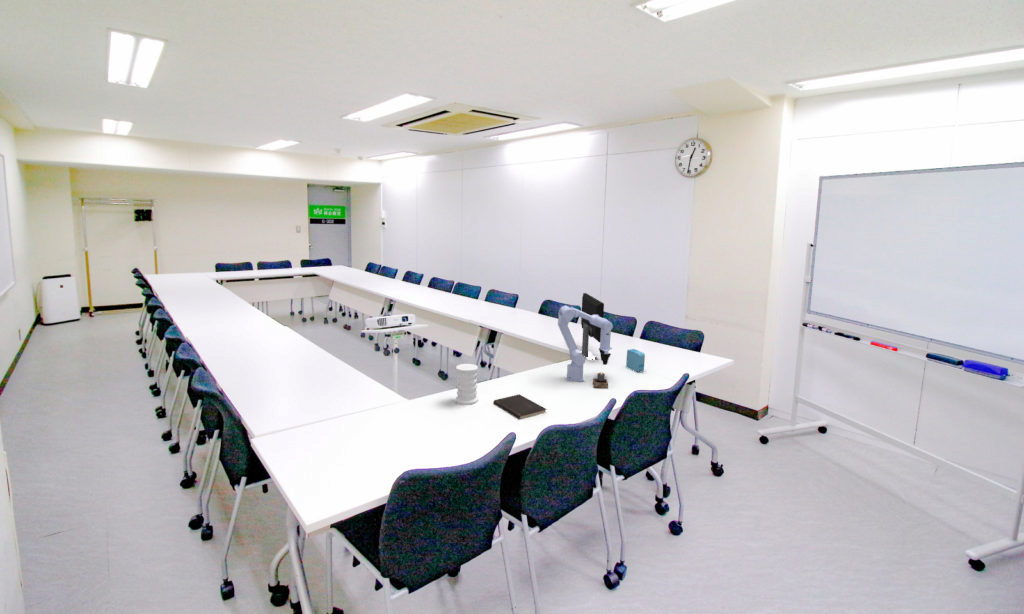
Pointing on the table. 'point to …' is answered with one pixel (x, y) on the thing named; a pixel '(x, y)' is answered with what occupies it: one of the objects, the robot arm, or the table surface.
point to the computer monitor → (591, 308)
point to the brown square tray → (600, 385)
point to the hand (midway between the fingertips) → (604, 362)
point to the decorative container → (466, 384)
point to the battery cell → (600, 377)
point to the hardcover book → (519, 406)
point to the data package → (635, 360)
